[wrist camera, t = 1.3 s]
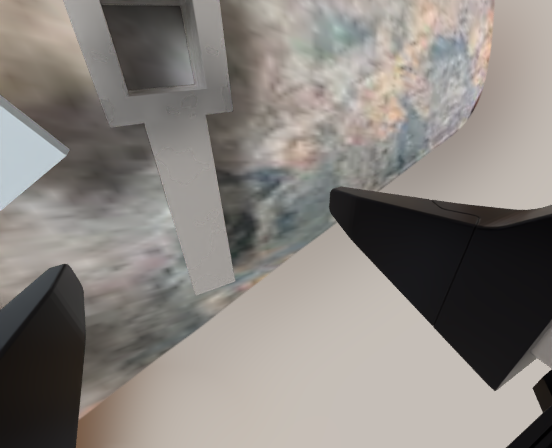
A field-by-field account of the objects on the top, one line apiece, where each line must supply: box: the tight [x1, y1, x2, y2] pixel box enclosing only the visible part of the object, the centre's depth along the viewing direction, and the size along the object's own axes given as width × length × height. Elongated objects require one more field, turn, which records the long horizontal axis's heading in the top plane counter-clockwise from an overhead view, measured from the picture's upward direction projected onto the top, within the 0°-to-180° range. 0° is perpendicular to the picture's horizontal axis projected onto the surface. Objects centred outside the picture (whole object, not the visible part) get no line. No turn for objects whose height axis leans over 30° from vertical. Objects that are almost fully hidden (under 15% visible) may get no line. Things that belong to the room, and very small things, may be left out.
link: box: [63, 0, 235, 295], centre depth 16 cm, size 18×6×3 cm, turn 2°
